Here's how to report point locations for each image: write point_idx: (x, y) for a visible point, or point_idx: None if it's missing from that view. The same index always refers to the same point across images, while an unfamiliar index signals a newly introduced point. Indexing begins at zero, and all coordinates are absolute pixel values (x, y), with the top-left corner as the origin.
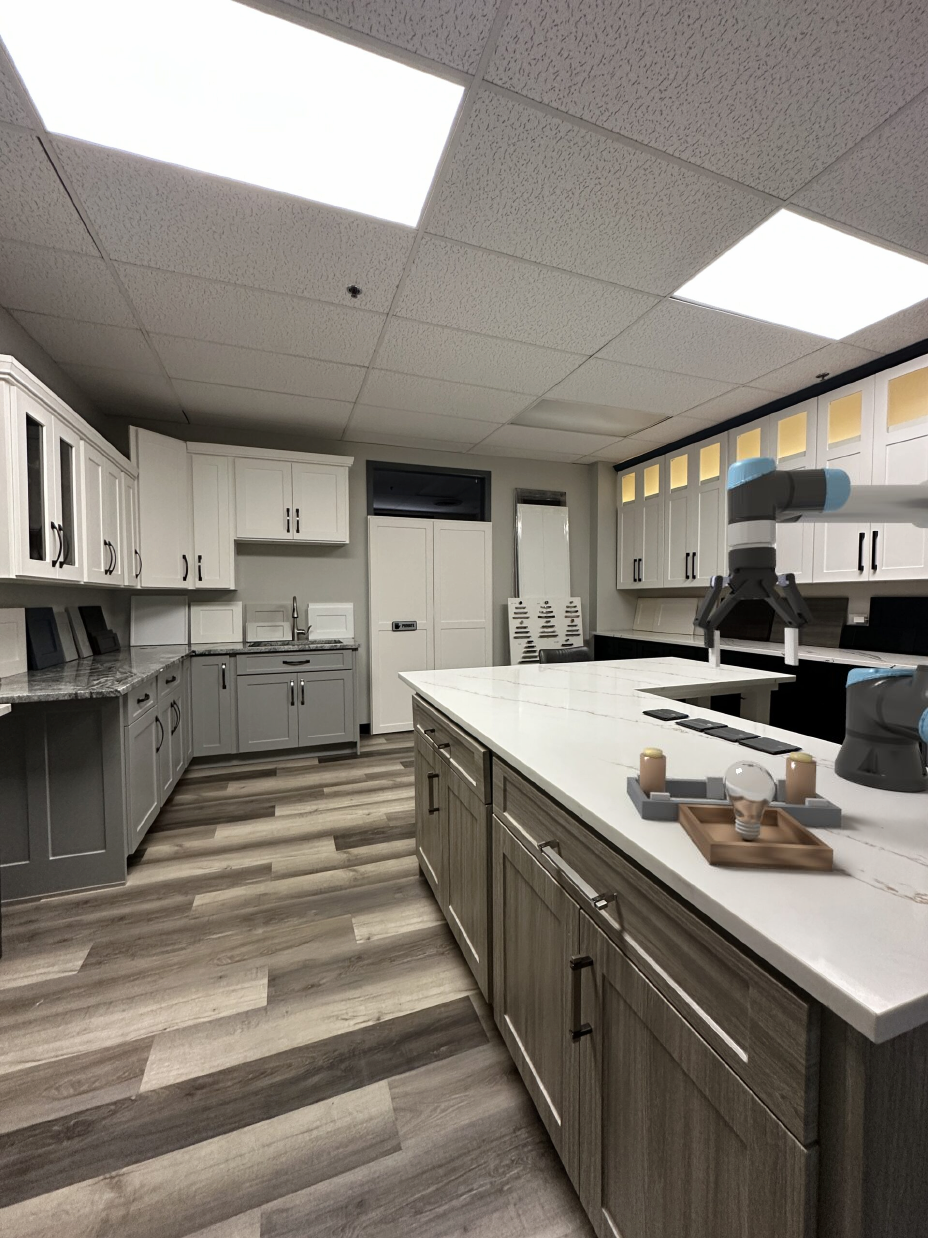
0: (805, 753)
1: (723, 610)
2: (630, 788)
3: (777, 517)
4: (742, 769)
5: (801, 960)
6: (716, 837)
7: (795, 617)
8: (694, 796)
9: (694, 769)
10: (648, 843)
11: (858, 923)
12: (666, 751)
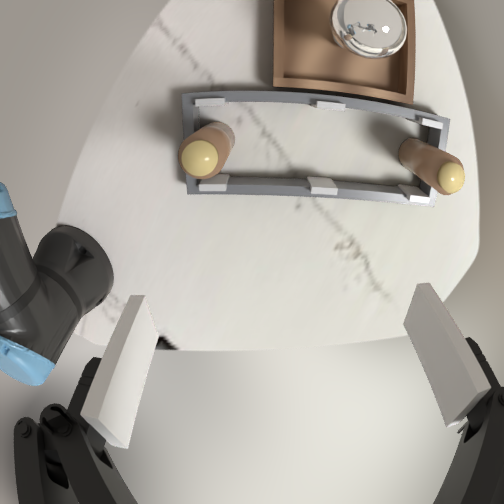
0: (187, 168)
1: (489, 486)
2: None
3: None
4: (395, 9)
5: None
6: None
7: (74, 467)
8: (346, 182)
9: (293, 285)
10: (448, 56)
11: None
12: (298, 343)
